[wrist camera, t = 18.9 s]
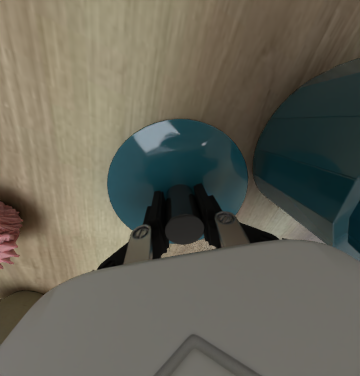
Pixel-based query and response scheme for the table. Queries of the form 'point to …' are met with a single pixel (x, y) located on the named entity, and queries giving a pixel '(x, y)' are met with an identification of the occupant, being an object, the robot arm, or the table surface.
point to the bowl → (15, 310)
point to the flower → (8, 232)
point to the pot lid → (176, 175)
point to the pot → (317, 157)
